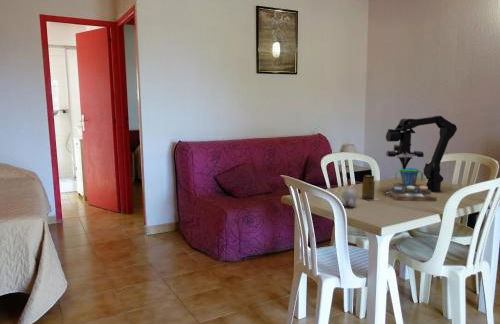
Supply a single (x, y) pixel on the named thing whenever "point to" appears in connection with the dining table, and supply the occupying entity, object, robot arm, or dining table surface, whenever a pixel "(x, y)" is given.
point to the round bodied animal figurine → (349, 197)
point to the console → (412, 195)
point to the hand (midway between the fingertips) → (403, 169)
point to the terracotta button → (423, 188)
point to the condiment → (368, 188)
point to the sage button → (410, 187)
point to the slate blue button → (397, 188)
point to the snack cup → (409, 176)
